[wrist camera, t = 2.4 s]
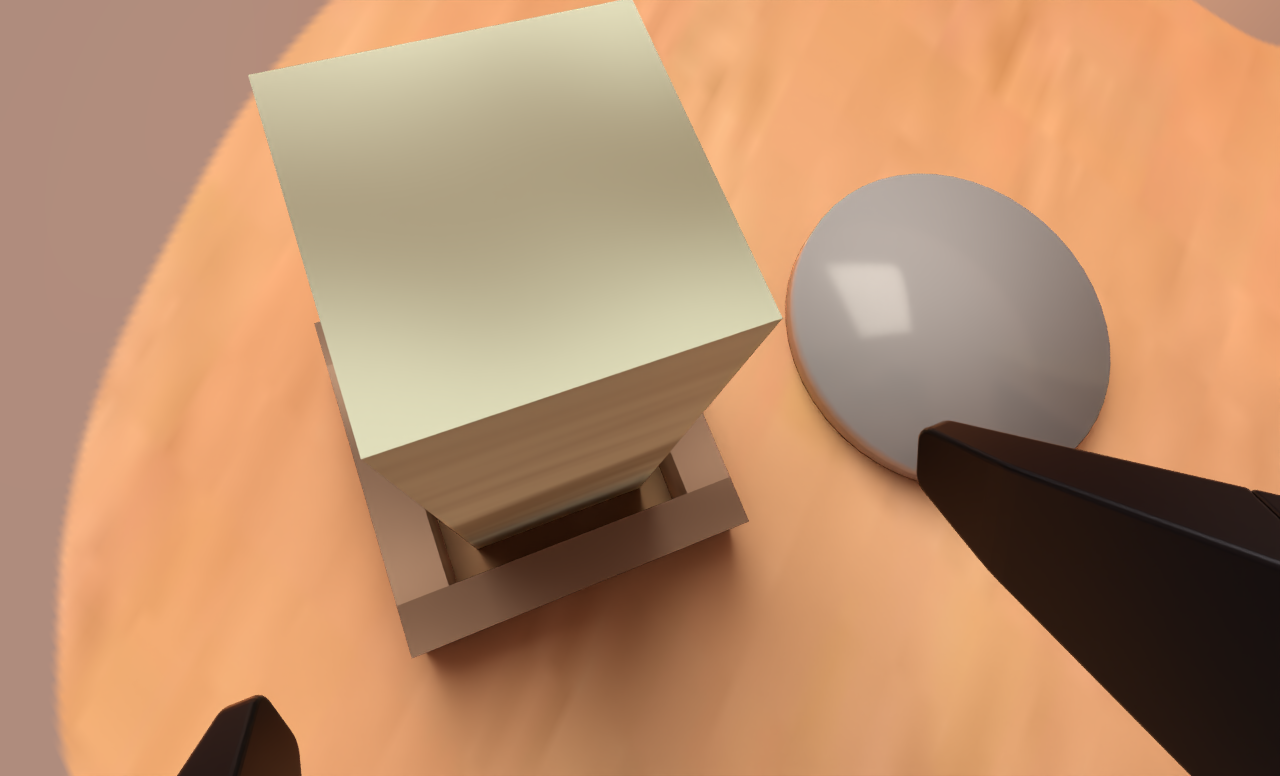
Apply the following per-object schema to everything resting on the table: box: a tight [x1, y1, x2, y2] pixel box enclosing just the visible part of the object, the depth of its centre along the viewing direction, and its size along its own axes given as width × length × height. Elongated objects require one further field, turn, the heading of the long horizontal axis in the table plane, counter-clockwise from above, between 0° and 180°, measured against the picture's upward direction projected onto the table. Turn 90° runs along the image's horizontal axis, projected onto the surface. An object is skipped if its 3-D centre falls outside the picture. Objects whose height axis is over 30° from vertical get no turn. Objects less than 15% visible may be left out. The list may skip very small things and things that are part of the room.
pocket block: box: [314, 322, 749, 658], centre depth 20 cm, size 9×9×2 cm
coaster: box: [786, 174, 1110, 481], centre depth 23 cm, size 11×11×1 cm
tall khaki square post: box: [248, 0, 782, 549], centre depth 14 cm, size 5×5×13 cm
